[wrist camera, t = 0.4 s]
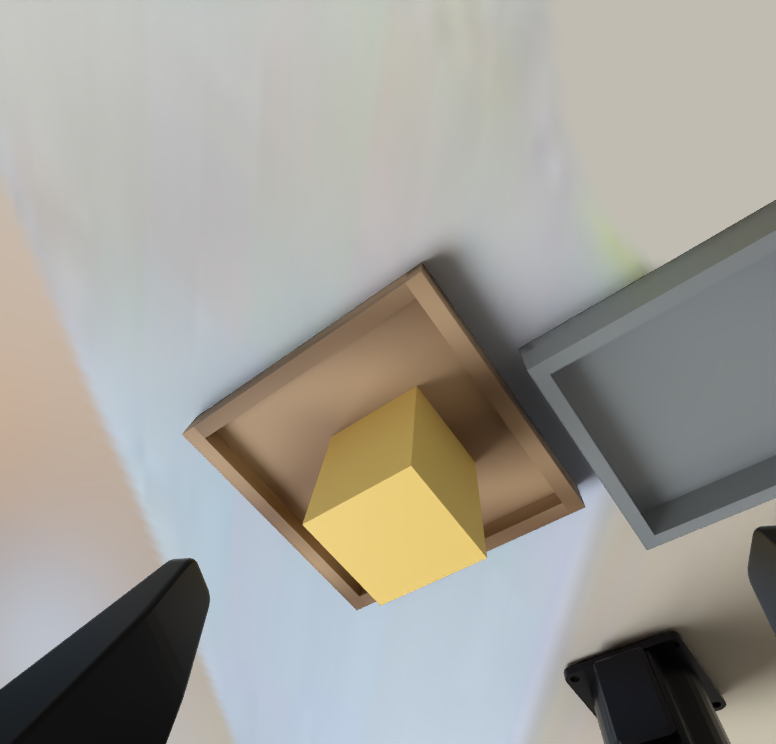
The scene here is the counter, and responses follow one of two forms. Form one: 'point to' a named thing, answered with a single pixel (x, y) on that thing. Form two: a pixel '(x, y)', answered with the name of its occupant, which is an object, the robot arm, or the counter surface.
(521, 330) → the counter surface
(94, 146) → the counter surface
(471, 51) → the counter surface
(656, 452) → the dish
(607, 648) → the counter surface
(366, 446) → the block
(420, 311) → the tray
